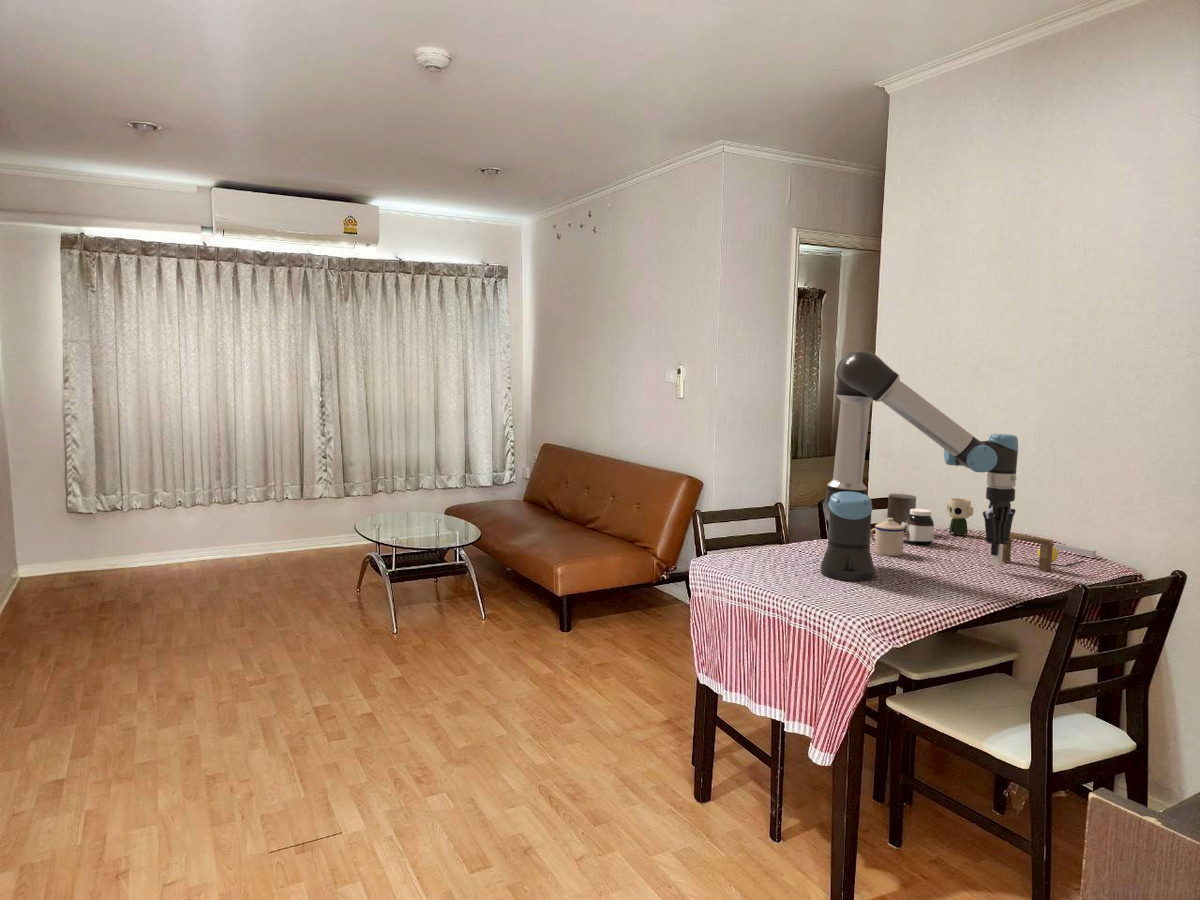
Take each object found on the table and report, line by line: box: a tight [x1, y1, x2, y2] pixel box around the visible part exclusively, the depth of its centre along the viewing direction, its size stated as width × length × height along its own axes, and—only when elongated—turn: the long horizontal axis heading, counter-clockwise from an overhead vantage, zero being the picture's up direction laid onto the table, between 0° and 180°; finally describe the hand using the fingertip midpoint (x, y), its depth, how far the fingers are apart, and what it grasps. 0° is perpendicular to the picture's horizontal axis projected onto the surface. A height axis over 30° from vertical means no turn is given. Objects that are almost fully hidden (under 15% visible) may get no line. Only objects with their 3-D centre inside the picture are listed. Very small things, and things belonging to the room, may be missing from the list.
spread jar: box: [901, 508, 935, 546], centre depth 266 cm, size 12×11×12 cm
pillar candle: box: [886, 492, 917, 533], centre depth 283 cm, size 10×10×15 cm
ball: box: [1037, 546, 1059, 562], centre depth 239 cm, size 6×6×6 cm
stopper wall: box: [1053, 543, 1097, 558], centre depth 250 cm, size 2×12×2 cm, turn 31°
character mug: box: [946, 498, 974, 536], centre depth 279 cm, size 11×7×13 cm, turn 27°
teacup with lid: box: [870, 518, 905, 557], centre depth 250 cm, size 12×9×12 cm
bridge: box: [1002, 531, 1054, 572], centre depth 234 cm, size 3×14×9 cm, turn 31°
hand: (996, 565), depth 227 cm, fingers closed
